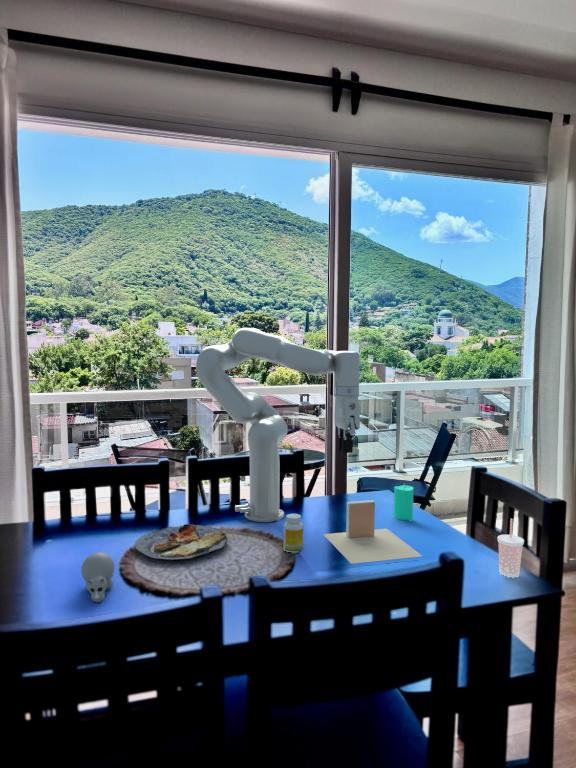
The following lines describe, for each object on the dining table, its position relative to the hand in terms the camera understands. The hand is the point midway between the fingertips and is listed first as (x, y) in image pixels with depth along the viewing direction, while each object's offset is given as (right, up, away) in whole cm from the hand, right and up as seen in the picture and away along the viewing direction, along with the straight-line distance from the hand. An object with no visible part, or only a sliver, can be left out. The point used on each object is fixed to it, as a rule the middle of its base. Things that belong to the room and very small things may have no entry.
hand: (345, 451), depth 176 cm
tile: (+3, -23, -10) cm, 26 cm away
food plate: (-47, -25, -17) cm, 56 cm away
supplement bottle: (-16, -25, -19) cm, 35 cm away
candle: (+19, -23, +7) cm, 31 cm away
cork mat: (+5, -25, -17) cm, 31 cm away
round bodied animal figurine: (-61, -27, -46) cm, 81 cm away
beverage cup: (+37, -27, -33) cm, 57 cm away
